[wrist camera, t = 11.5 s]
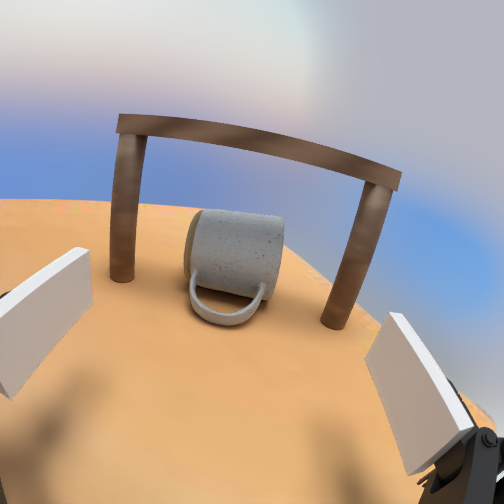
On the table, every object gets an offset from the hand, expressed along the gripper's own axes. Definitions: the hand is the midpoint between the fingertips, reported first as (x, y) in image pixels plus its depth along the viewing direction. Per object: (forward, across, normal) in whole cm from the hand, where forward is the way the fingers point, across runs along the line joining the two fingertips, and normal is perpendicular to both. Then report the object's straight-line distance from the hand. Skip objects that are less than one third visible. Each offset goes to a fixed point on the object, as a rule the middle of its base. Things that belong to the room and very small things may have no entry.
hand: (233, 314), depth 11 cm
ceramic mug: (+13, 0, -7) cm, 15 cm away
